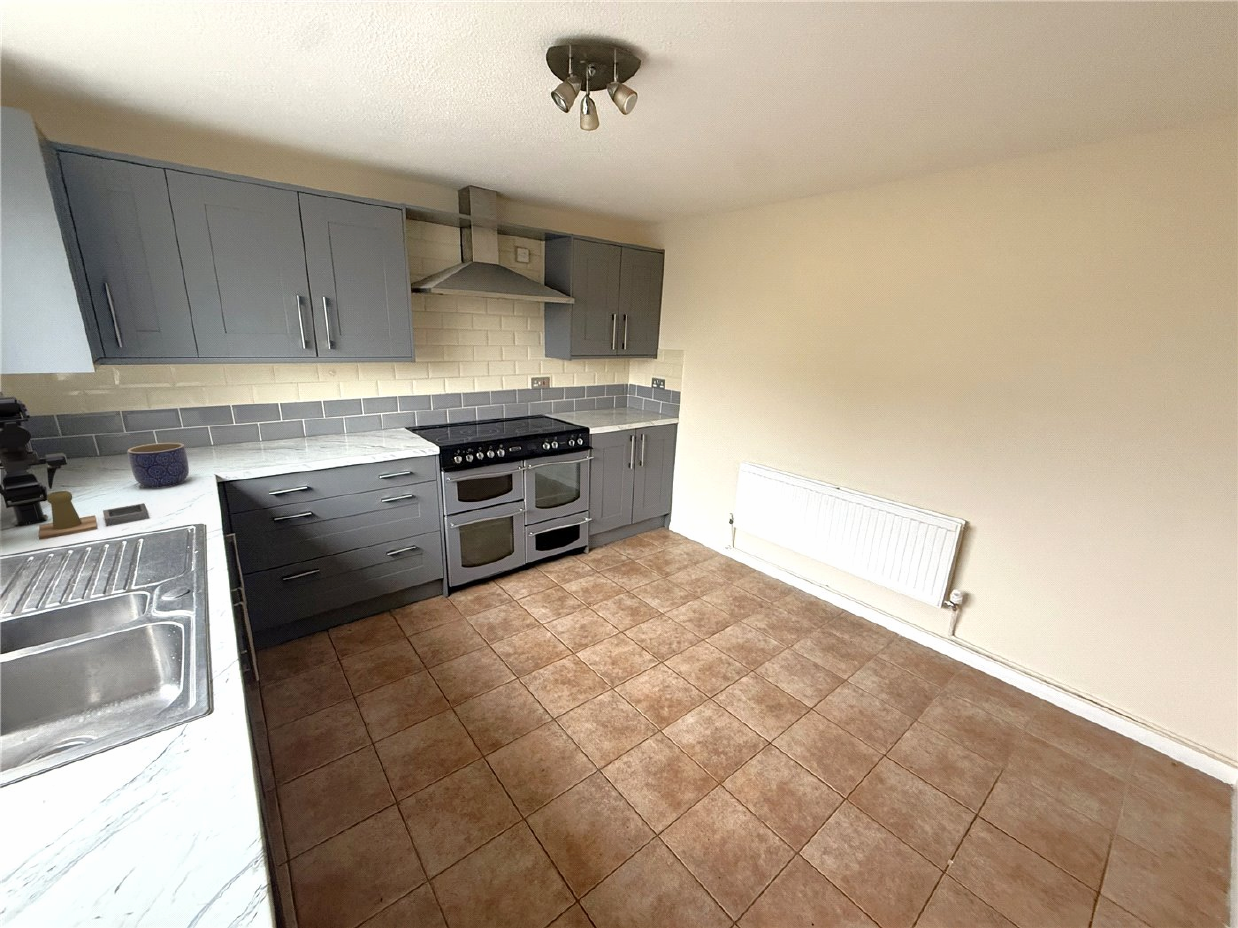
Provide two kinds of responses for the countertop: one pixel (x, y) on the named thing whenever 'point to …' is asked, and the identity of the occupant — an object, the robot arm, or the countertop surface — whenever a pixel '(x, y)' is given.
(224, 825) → the countertop surface
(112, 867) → the countertop surface
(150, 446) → the planter
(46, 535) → the walnut board
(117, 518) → the steel collar
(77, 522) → the cork
